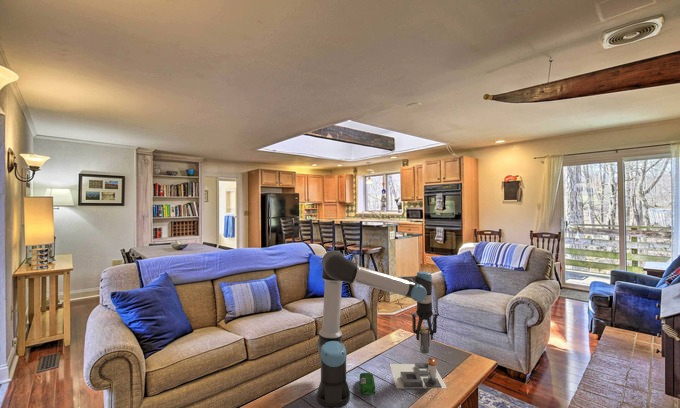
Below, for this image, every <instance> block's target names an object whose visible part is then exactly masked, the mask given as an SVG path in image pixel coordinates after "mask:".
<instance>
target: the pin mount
mask: <svg viewBox="0 0 680 408" xmlns="http://www.w3.org/2000/svg"><path fill="white" fill-rule="evenodd" d="M400 377H401V380H402V383H403V386H404V387H406V388H405V389H424V388H423V381H422V379H421V377H420V375H419V373H418V372H400ZM407 379H415V380H407Z"/></svg>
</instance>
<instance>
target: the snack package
mask: <svg viewBox="0 0 680 408" xmlns="http://www.w3.org/2000/svg"><path fill="white" fill-rule="evenodd" d="M359 392H360V394H361V395H375V394H376V384H375V377H374V374H373V373H372V372H361V373H360V374H359Z"/></svg>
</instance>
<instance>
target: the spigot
mask: <svg viewBox="0 0 680 408" xmlns="http://www.w3.org/2000/svg"><path fill="white" fill-rule="evenodd" d="M429 333H430V332H429V327H428V326H427V327H426V326H421V329H420V334H421V347H419V353H421V354H429V353H430V347H429Z"/></svg>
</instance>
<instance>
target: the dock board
mask: <svg viewBox="0 0 680 408" xmlns="http://www.w3.org/2000/svg"><path fill="white" fill-rule="evenodd" d="M389 366H390V370H391V374H392V376H393V380H394V383H395V387H396V389H407V388H406V387H404V386H403V383H402V380H401V377H400V372H417V371H416V369H415V363H389ZM419 370H428V368H419ZM420 377H421V379H422V381H423V388H422V389H428V388H427V387H426V384H425V382H424V380H423V378H428V375H420ZM436 378H437V379H438V381H439V383H440V384H441V386H442V388H441V389H448V387H447V385H446V384H445V382H444V380H443V378H442V376H441V375H440V373H439V371H438V369H437V368H436ZM407 380H415V379H407Z"/></svg>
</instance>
